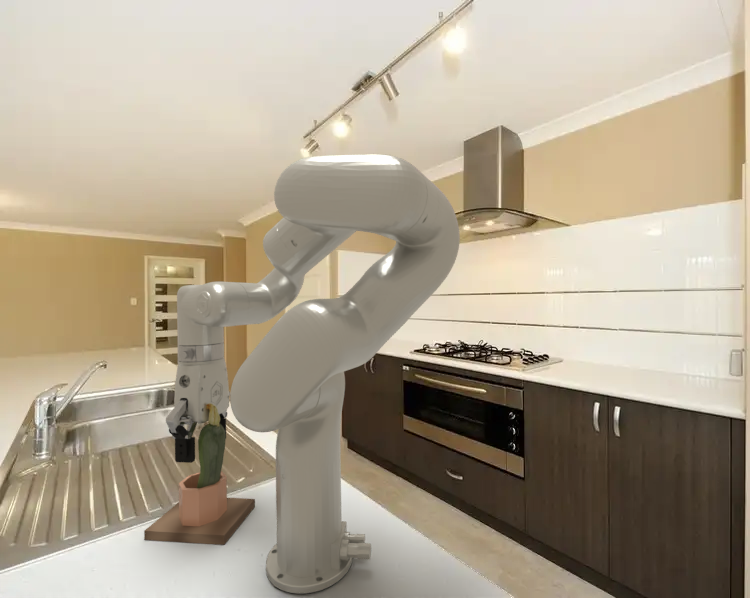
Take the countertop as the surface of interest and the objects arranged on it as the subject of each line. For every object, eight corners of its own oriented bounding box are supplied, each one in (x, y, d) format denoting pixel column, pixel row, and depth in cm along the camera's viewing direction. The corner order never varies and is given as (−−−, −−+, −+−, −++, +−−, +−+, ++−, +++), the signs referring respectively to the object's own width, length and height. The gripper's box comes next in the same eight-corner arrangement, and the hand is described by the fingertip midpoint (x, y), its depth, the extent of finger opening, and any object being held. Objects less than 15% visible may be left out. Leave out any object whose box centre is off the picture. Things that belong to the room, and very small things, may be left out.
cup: (232, 503, 68) (232, 471, 68) (210, 527, 61) (210, 490, 61) (196, 501, 69) (196, 469, 69) (171, 524, 61) (170, 489, 62)
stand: (254, 506, 69) (254, 498, 69) (224, 544, 58) (224, 535, 58) (186, 503, 71) (186, 495, 71) (144, 539, 60) (144, 530, 60)
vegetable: (221, 501, 67) (234, 400, 64) (211, 519, 63) (224, 411, 60) (196, 498, 67) (208, 396, 64) (185, 515, 62) (197, 407, 60)
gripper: (190, 361, 56) (192, 473, 56) (244, 348, 73) (245, 433, 73) (146, 361, 57) (147, 471, 57) (209, 348, 74) (210, 432, 74)
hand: (202, 449), depth 65 cm, fingers open, 9 cm apart
